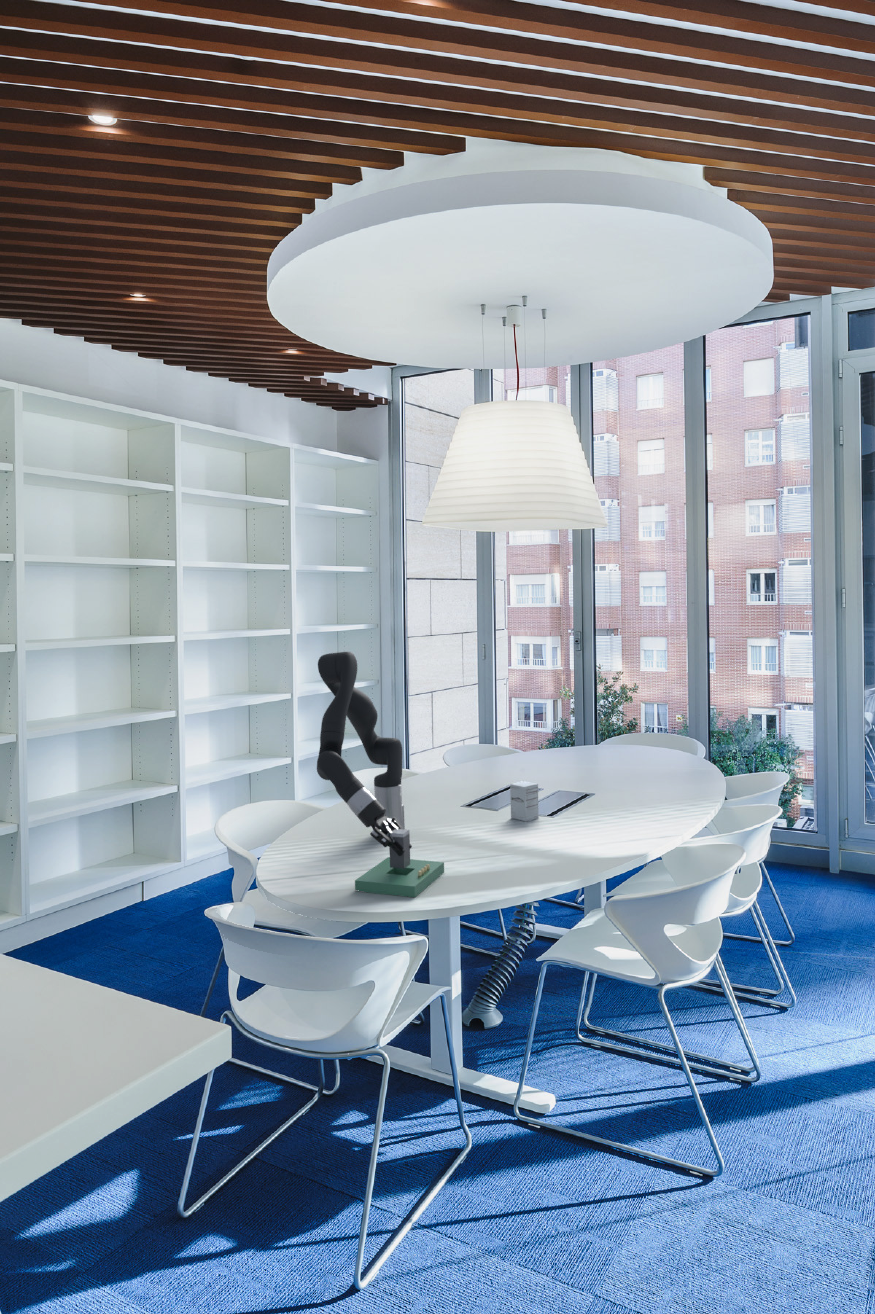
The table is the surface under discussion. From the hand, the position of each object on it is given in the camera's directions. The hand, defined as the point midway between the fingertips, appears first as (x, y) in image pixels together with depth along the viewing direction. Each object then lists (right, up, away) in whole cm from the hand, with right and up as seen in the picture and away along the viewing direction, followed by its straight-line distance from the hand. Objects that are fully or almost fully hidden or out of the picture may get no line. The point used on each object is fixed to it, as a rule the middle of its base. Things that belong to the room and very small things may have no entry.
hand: (406, 851), depth 248 cm
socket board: (-1, -9, +1) cm, 9 cm away
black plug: (-2, -4, +1) cm, 5 cm away
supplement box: (+40, -3, +66) cm, 77 cm away
